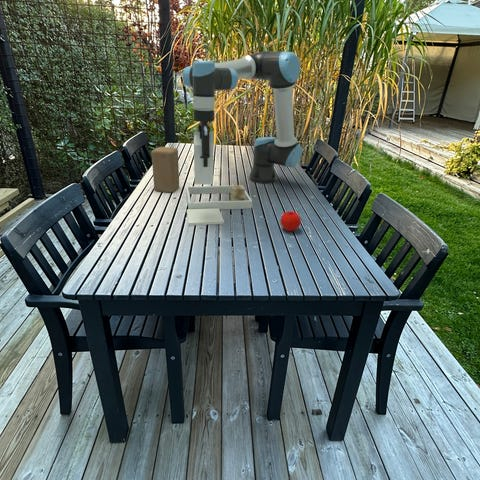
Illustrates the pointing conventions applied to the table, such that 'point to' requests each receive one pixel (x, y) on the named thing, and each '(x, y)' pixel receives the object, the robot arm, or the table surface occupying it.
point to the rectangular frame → (216, 204)
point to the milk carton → (197, 160)
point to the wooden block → (165, 169)
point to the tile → (204, 216)
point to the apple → (290, 221)
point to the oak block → (237, 193)
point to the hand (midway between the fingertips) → (204, 171)
